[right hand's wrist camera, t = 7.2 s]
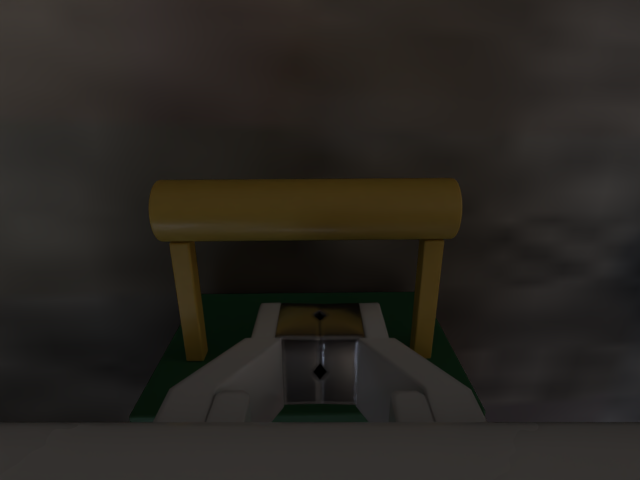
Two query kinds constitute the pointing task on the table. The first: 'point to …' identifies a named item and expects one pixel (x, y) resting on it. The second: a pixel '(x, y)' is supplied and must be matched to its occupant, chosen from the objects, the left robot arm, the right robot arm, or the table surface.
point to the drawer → (299, 224)
